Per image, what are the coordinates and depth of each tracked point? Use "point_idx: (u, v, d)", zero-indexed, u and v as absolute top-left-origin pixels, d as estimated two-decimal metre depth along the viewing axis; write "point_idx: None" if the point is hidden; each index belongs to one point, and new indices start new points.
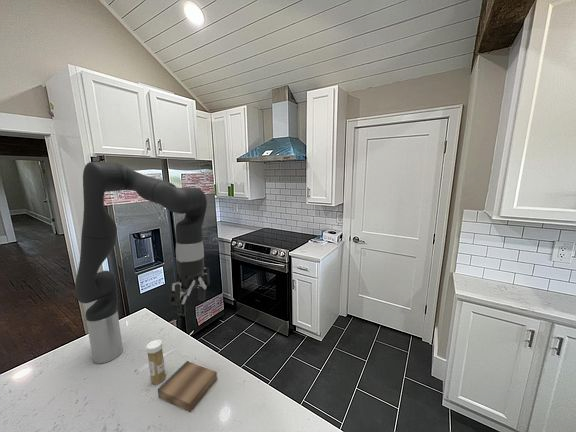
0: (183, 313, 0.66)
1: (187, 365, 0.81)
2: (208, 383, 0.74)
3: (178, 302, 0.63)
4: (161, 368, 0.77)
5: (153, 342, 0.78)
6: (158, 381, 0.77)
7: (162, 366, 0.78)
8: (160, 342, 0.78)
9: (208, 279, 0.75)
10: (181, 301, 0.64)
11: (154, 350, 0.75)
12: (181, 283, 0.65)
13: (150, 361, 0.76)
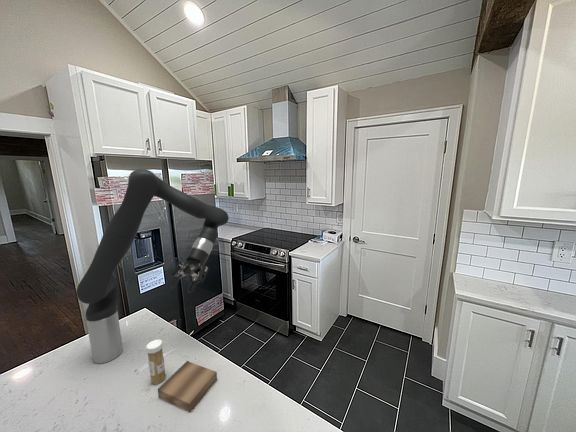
0: (192, 290, 0.86)
1: (187, 365, 0.81)
2: (208, 383, 0.74)
3: None
4: (161, 368, 0.77)
5: (153, 342, 0.78)
6: (158, 381, 0.77)
7: (162, 366, 0.78)
8: (160, 342, 0.78)
9: None
10: None
11: (154, 350, 0.75)
12: None
13: (150, 361, 0.76)
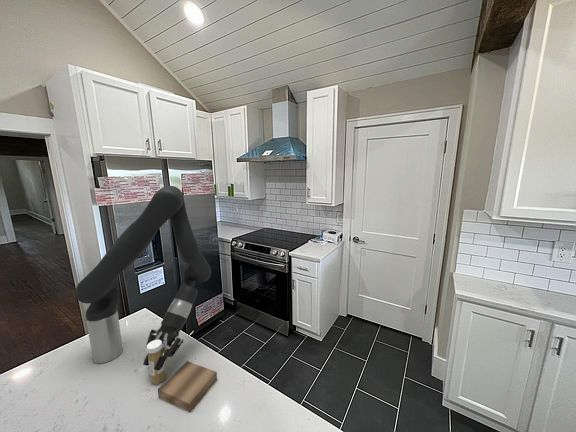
0: None
1: (187, 365, 0.81)
2: (208, 383, 0.74)
3: None
4: (161, 368, 0.77)
5: (153, 342, 0.78)
6: (158, 381, 0.77)
7: None
8: (160, 342, 0.78)
9: None
10: None
11: (154, 350, 0.75)
12: None
13: (150, 361, 0.76)
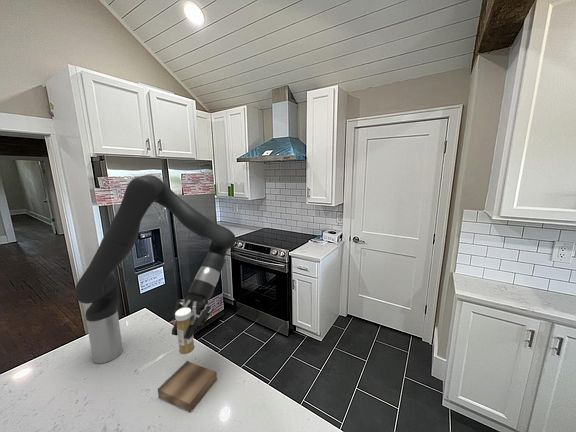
0: (190, 336, 0.70)
1: (187, 365, 0.81)
2: (208, 383, 0.74)
3: None
4: (190, 338, 0.72)
5: (182, 310, 0.72)
6: (187, 352, 0.71)
7: None
8: (189, 310, 0.72)
9: None
10: None
11: (184, 317, 0.69)
12: None
13: (179, 329, 0.70)
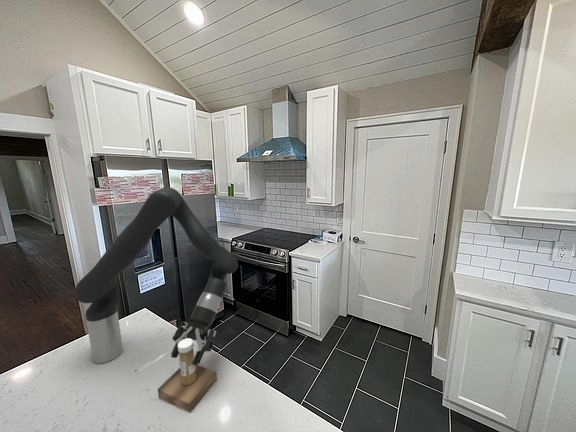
0: None
1: None
2: (208, 383, 0.74)
3: None
4: (192, 368, 0.73)
5: (184, 341, 0.74)
6: (189, 382, 0.73)
7: (193, 366, 0.74)
8: (191, 341, 0.74)
9: None
10: None
11: (186, 349, 0.71)
12: None
13: (181, 361, 0.72)
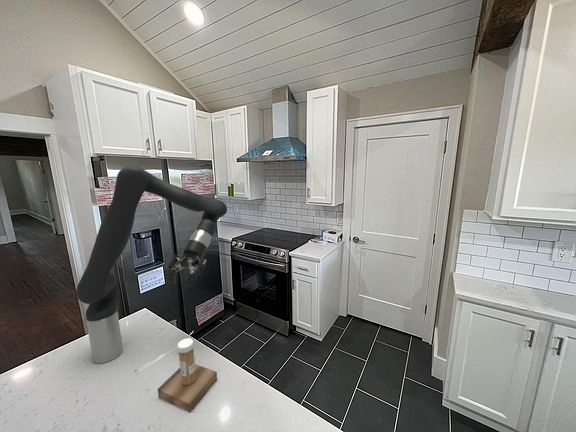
0: None
1: None
2: (208, 383, 0.74)
3: None
4: (192, 368, 0.73)
5: (184, 341, 0.74)
6: (189, 382, 0.73)
7: (193, 366, 0.74)
8: (191, 341, 0.74)
9: None
10: None
11: (186, 349, 0.71)
12: None
13: (181, 361, 0.72)
